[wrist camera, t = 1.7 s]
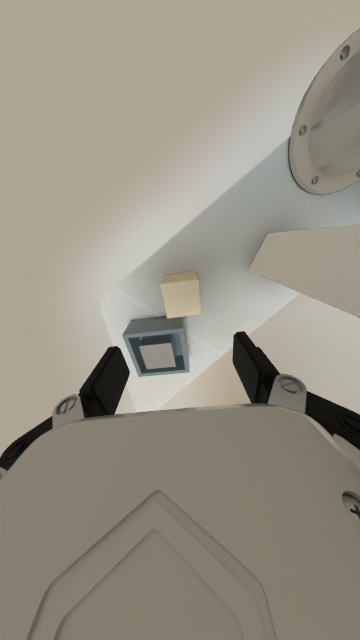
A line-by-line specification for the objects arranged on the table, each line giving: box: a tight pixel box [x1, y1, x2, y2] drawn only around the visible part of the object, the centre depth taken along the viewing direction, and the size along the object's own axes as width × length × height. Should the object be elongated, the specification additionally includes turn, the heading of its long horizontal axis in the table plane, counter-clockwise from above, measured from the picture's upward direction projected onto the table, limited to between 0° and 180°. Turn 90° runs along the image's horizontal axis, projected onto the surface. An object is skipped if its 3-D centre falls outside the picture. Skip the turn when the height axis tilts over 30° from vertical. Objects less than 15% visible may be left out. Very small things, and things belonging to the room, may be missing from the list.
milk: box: [248, 224, 360, 318], centre depth 15 cm, size 6×6×22 cm
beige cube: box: [160, 271, 201, 318], centre depth 24 cm, size 6×6×6 cm
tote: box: [122, 316, 189, 377], centre depth 30 cm, size 11×11×6 cm
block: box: [139, 333, 177, 369], centre depth 30 cm, size 6×6×5 cm
